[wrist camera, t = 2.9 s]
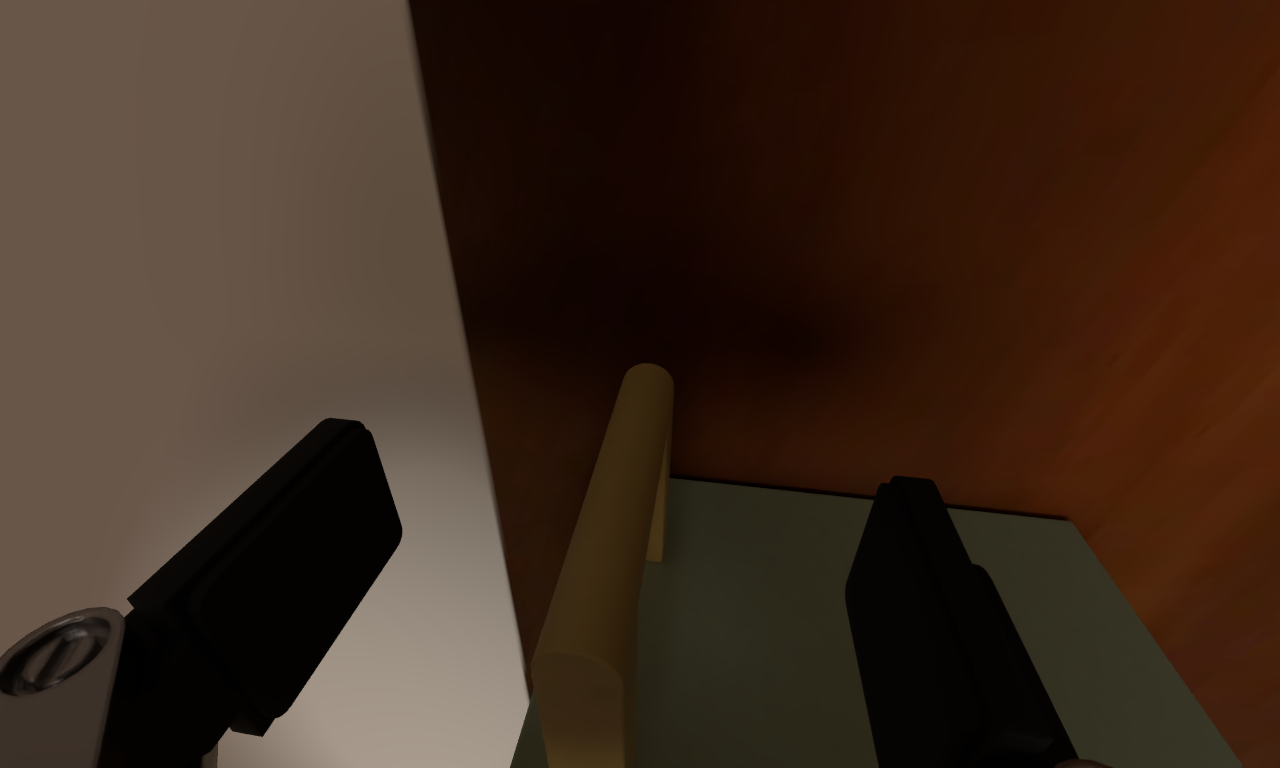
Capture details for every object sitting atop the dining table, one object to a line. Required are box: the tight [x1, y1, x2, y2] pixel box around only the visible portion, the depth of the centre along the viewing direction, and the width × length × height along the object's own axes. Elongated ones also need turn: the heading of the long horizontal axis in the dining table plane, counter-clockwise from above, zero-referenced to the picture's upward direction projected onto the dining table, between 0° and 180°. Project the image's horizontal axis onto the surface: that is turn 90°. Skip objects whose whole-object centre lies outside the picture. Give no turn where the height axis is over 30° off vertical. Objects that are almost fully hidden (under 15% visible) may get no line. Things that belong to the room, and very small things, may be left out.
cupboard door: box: [510, 363, 1244, 768], centre depth 12 cm, size 7×16×12 cm, turn 89°
